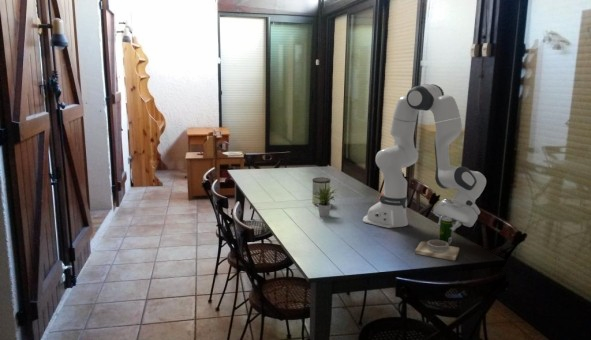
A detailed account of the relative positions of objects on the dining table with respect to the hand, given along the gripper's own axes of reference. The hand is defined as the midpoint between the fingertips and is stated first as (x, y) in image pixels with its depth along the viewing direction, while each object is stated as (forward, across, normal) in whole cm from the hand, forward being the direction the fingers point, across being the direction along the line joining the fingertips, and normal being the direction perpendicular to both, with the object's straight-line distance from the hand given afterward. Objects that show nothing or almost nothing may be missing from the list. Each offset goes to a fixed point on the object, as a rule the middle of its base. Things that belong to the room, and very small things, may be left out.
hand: (445, 227), depth 207 cm
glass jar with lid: (+12, -81, -2) cm, 82 cm away
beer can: (+5, 0, +6) cm, 7 cm away
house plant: (+21, -60, -11) cm, 64 cm away
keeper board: (+13, +6, -3) cm, 14 cm away
